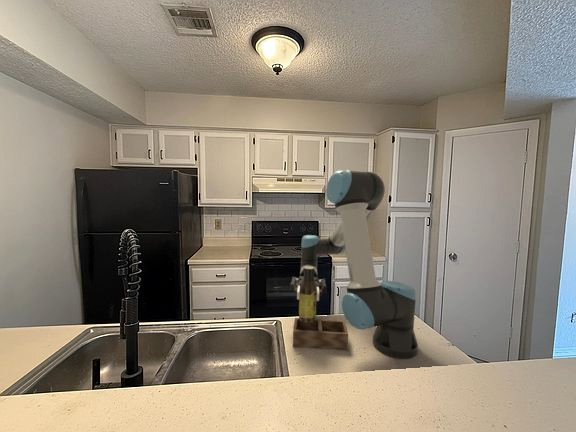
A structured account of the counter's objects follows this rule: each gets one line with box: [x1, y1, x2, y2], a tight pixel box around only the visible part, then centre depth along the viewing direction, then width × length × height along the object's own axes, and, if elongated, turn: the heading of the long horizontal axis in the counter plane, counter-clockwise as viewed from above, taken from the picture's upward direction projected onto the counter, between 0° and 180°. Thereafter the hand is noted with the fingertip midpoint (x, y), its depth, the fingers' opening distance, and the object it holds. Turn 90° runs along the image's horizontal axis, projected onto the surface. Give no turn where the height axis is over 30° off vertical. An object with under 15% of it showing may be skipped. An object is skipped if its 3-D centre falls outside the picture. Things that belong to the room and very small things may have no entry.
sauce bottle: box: [298, 266, 317, 323], centre depth 101 cm, size 6×6×20 cm
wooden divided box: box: [292, 317, 349, 352], centre depth 102 cm, size 19×10×6 cm, turn 85°
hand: (308, 296), depth 96 cm, fingers closed on sauce bottle, 6 cm apart
